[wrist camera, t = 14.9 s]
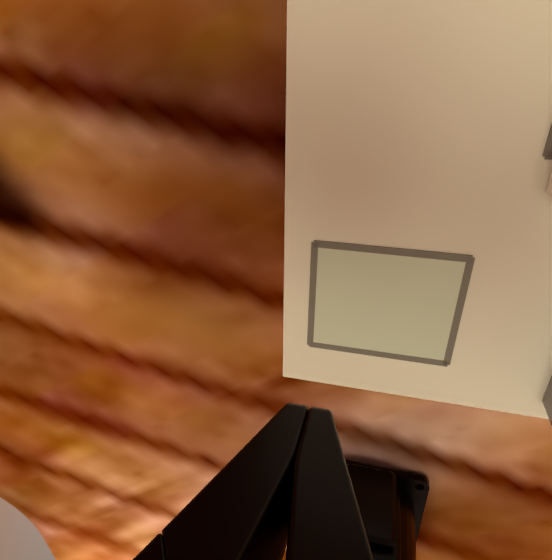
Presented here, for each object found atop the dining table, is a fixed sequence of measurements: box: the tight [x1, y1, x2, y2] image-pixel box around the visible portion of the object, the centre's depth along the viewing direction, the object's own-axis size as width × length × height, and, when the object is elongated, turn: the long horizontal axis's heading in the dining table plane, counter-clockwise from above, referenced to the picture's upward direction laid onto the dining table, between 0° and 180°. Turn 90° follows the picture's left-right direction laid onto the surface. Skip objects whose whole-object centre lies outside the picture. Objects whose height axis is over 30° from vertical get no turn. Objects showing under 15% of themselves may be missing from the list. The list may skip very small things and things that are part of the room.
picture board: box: [283, 0, 552, 419], centre depth 17 cm, size 20×18×1 cm
